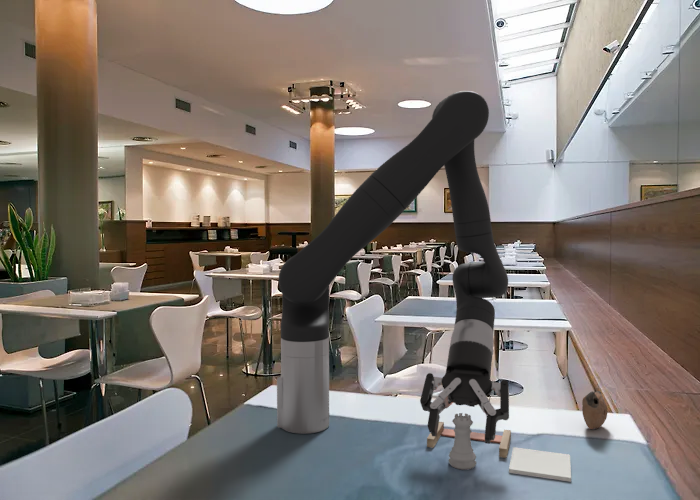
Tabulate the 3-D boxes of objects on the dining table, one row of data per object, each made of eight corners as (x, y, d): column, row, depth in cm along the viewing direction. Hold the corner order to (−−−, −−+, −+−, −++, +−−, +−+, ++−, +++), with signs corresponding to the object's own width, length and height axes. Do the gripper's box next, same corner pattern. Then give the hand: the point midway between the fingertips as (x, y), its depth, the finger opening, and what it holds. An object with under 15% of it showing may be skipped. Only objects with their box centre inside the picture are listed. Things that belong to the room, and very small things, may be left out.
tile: (508, 472, 85) (508, 468, 85) (513, 450, 94) (513, 447, 94) (571, 481, 82) (571, 477, 82) (569, 458, 91) (569, 454, 91)
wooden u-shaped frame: (426, 446, 96) (426, 438, 95) (437, 429, 104) (437, 421, 104) (506, 458, 91) (506, 449, 91) (510, 438, 99) (511, 430, 99)
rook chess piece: (477, 471, 86) (478, 421, 85) (448, 469, 86) (449, 419, 86) (475, 459, 90) (475, 411, 90) (447, 458, 91) (448, 410, 91)
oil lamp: (601, 439, 99) (602, 395, 98) (577, 435, 101) (578, 392, 100) (608, 424, 106) (609, 383, 106) (586, 420, 108) (587, 380, 108)
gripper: (428, 336, 97) (412, 421, 87) (511, 342, 92) (505, 433, 82) (434, 359, 102) (420, 442, 92) (513, 365, 97) (507, 454, 87)
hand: (460, 437), depth 87 cm, fingers open, 8 cm apart
